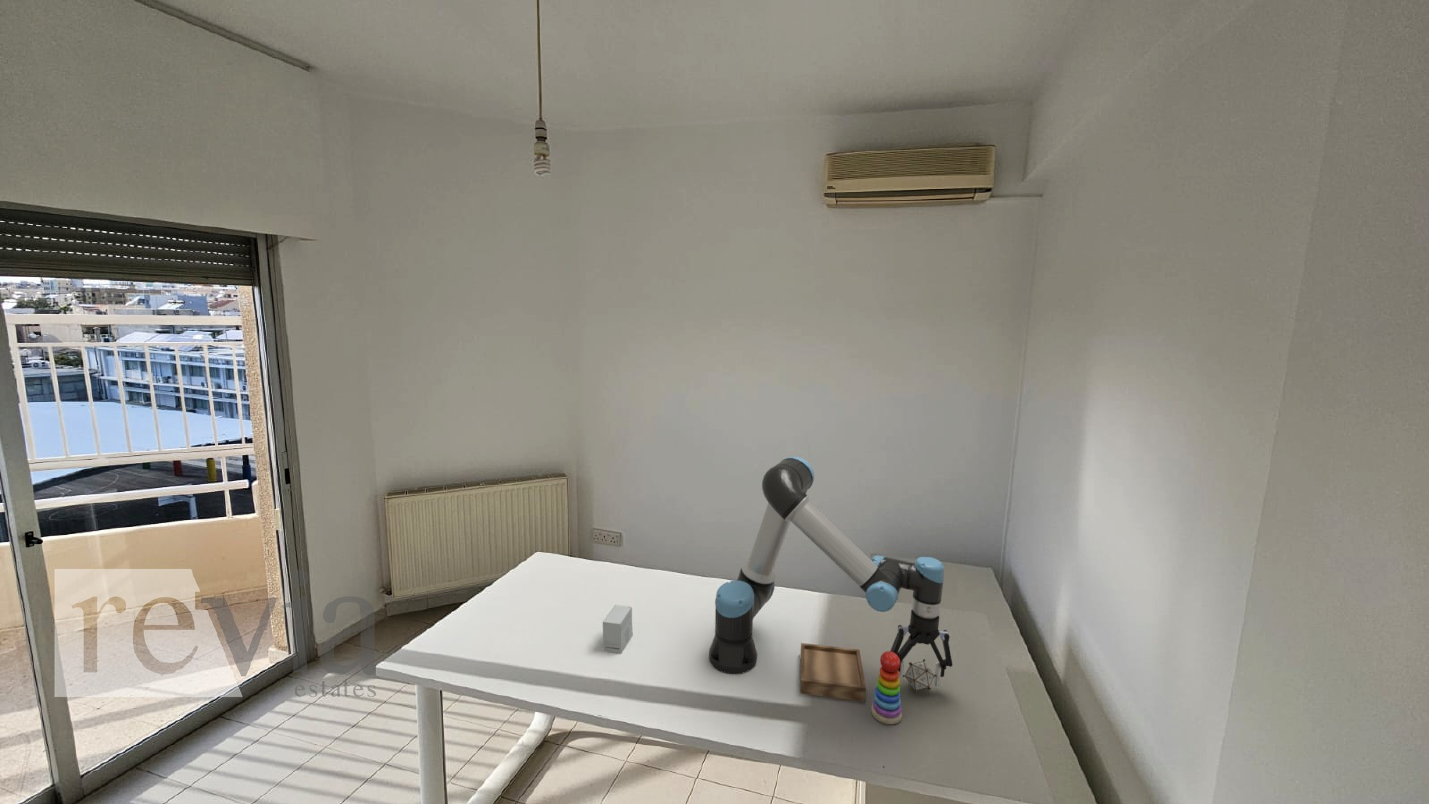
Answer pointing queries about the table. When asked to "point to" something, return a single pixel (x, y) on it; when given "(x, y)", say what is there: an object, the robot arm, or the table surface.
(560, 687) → the table surface
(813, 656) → the square tray
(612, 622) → the skincare box
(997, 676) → the table surface
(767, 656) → the table surface
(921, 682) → the game die
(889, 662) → the stacking toy
